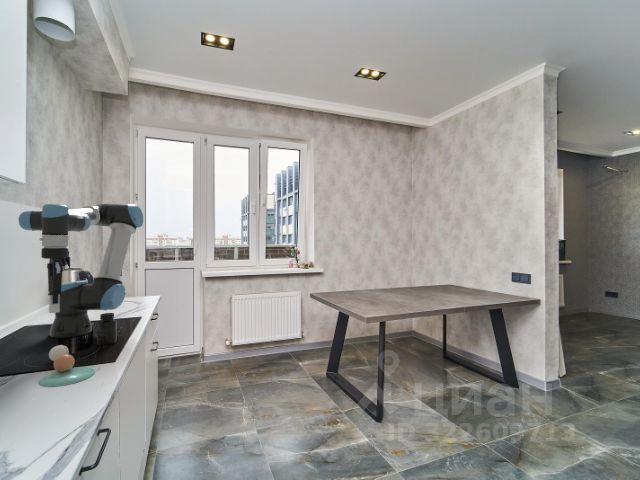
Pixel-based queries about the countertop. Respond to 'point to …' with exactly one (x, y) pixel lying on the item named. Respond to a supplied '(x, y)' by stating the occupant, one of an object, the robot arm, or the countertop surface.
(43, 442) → the countertop surface
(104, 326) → the supplement bottle
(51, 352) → the cue ball
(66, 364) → the object ball
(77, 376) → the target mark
